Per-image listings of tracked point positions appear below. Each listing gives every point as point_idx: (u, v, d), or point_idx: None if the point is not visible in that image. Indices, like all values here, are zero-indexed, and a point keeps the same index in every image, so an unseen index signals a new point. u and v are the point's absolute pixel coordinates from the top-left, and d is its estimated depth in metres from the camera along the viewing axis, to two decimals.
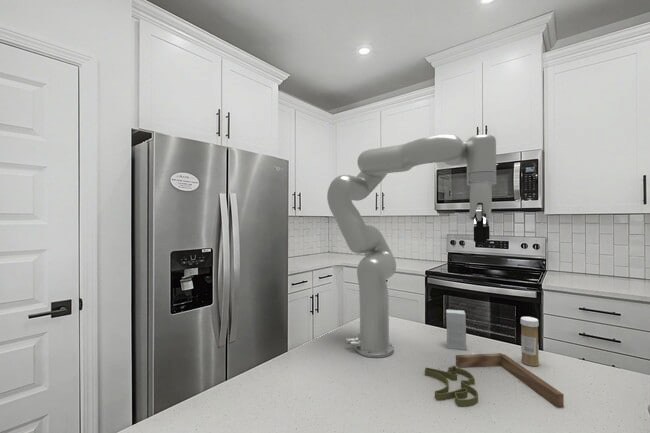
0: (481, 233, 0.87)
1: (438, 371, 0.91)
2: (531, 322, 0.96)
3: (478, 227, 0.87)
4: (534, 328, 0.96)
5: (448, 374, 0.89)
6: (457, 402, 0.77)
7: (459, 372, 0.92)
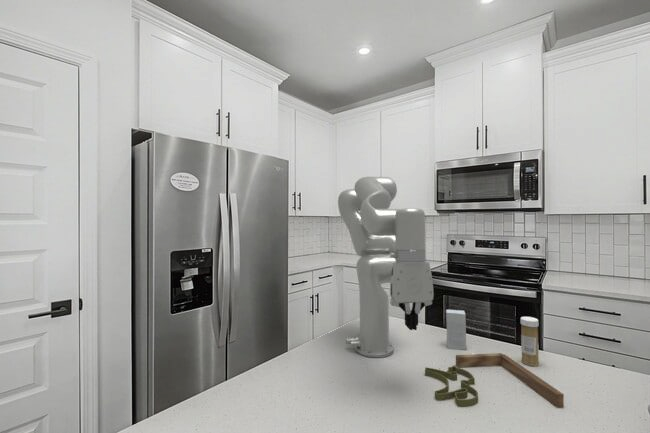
0: None
1: (438, 371, 0.91)
2: (531, 322, 0.96)
3: None
4: (534, 328, 0.96)
5: (448, 374, 0.89)
6: (457, 402, 0.77)
7: (459, 372, 0.92)
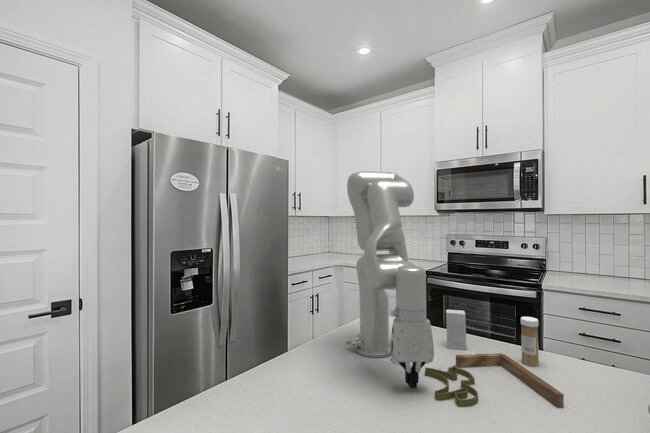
0: None
1: (438, 371, 0.91)
2: (531, 322, 0.96)
3: None
4: (534, 328, 0.96)
5: (448, 374, 0.89)
6: (457, 402, 0.77)
7: (459, 372, 0.92)
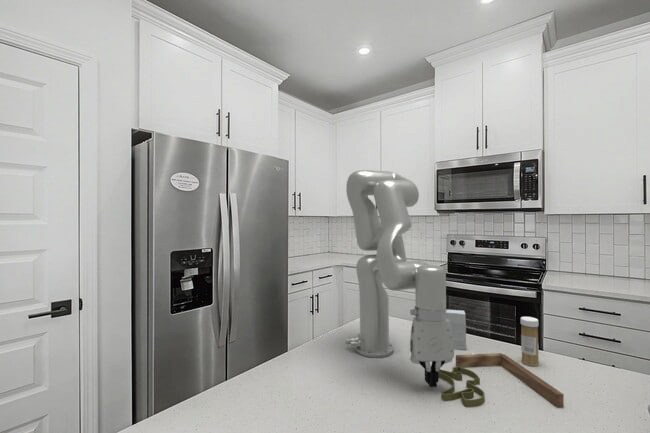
0: None
1: (443, 371, 0.91)
2: (531, 322, 0.96)
3: None
4: (534, 328, 0.96)
5: (453, 374, 0.89)
6: (464, 402, 0.77)
7: (464, 372, 0.92)
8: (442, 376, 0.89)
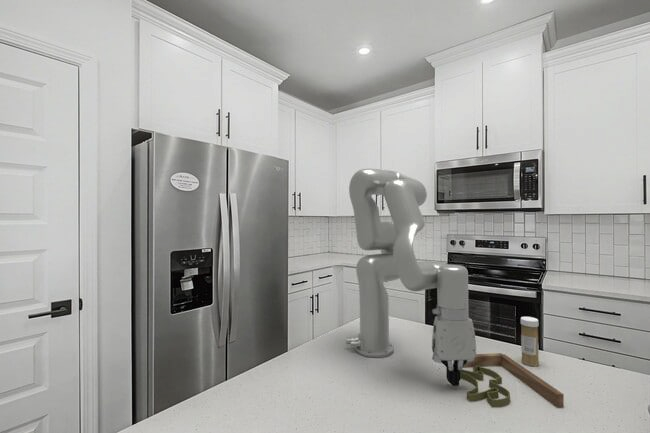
0: None
1: (463, 371, 0.91)
2: (531, 322, 0.96)
3: None
4: (534, 328, 0.96)
5: (474, 374, 0.89)
6: (491, 402, 0.76)
7: (484, 371, 0.92)
8: (463, 376, 0.89)
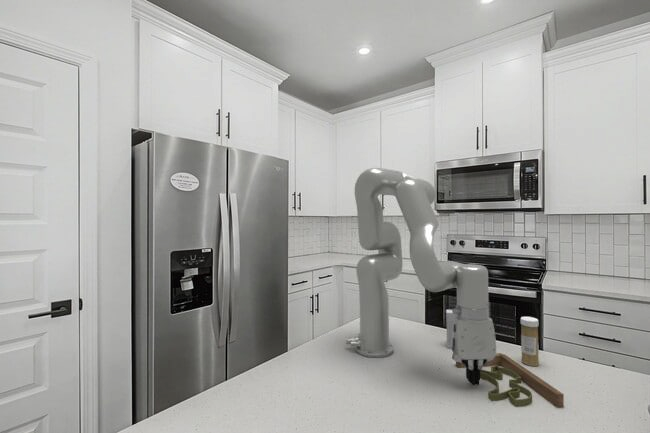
0: None
1: (482, 371, 0.91)
2: (531, 322, 0.96)
3: None
4: (534, 328, 0.96)
5: (493, 374, 0.89)
6: (513, 402, 0.76)
7: (502, 371, 0.92)
8: (483, 376, 0.89)
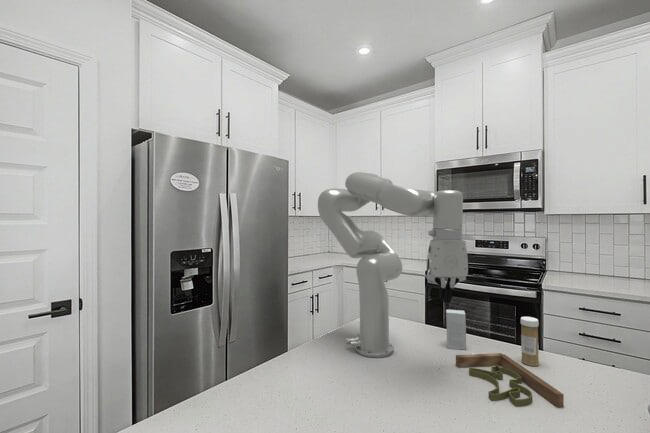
0: None
1: (482, 371, 0.91)
2: (531, 322, 0.96)
3: None
4: (534, 328, 0.96)
5: (494, 374, 0.89)
6: (514, 402, 0.76)
7: (502, 371, 0.92)
8: (483, 376, 0.89)
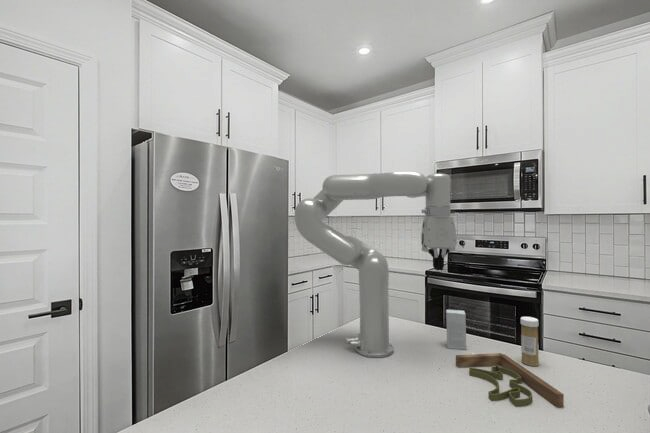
0: None
1: (482, 371, 0.91)
2: (531, 322, 0.96)
3: None
4: (534, 328, 0.96)
5: (494, 374, 0.89)
6: (514, 402, 0.76)
7: (502, 371, 0.92)
8: (483, 376, 0.89)
